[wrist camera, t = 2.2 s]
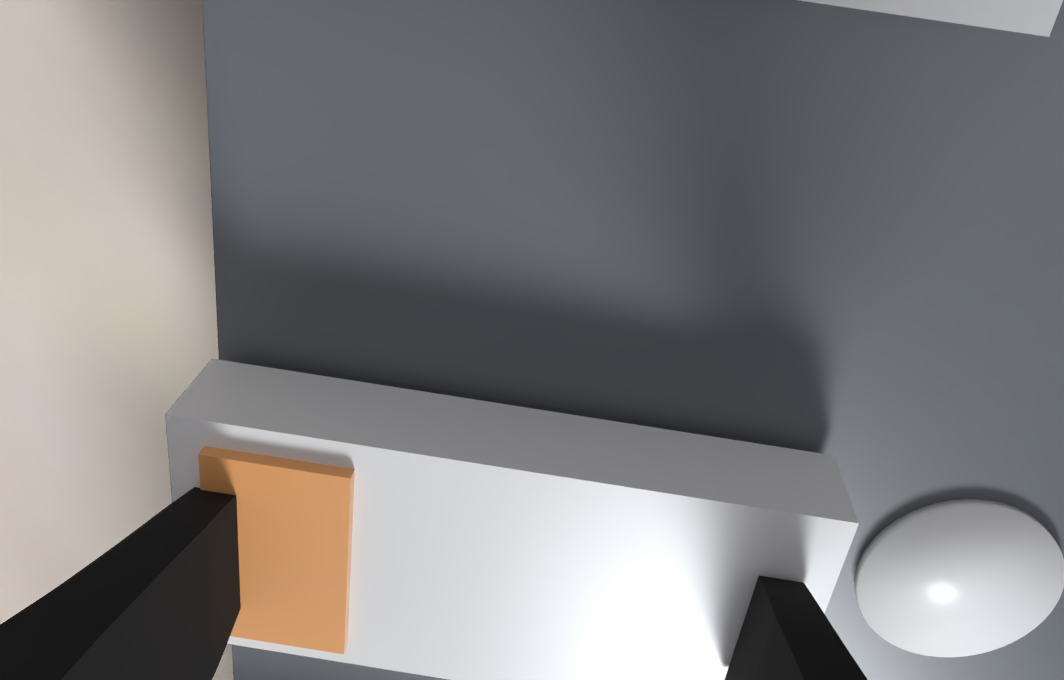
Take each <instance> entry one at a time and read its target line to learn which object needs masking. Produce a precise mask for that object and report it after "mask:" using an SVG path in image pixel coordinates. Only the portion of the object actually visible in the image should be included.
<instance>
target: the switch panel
mask: <svg viewBox="0 0 1064 680" xmlns="http://www.w3.org/2000/svg"><path fill="white" fill-rule="evenodd" d="M202 1H203V22H204V44H205V66H206V88H207V110H208V131H209V153H210V175H211V197H212V219H213V240H214V262H215V284H216V306H217V328H218V349H219V360H225V361H231V362H237V363H244V364H250V365H257V366H263V367H270V368H276V369H282V370H289V371H295V372H302V373H308V374H314V375H321V376H327V377H334V378H340V379H347V380H353V381H359V382H366V383H372V384H379V385H385V386H392V387H398V388H404V389H411V390H417V391H424V392H430V393H437V394H443V395H449V396H456V397H462V398H469V399H475V400H482V401H488V402H494V403H501V404H507V405H514V406H520V407H526V408H533V409H539V410H546V411H552V412H559V413H565V414H571V415H578V416H584V417H591V418H597V419H604V420H610V421H616V422H623V423H629V424H636V425H642V426H649V427H655V428H661V429H668V430H674V431H681V432H687V433H694V434H700V435H706V436H713V437H719V438H726V439H732V440H738V441H745V442H751V443H758V444H764V445H771V446H777V447H783V448H790V449H796V450H803V451H809V452H816V453H822V454H828V455H834V456H835V459H836V462H837V465H838V467H839V470H840V473H841V476H842V478H843V481H844V484H845V487H846V489H847V492H848V495H849V497H850V500H851V503H852V506H853V508H854V511H855V514H856V517H857V519H858V522H859V525H858V527H857V530H856V532H855V535H854V538H853V540H852V543H851V545H850V548H849V551H848V553H847V556H846V559H845V561H844V564H843V566H842V569H841V572H840V574H839V577H838V579H837V582H836V585H835V587H834V590H833V592H832V595H831V598H830V600H829V603H828V605H827V608H826V611H825V613H824V614H825V615H826V617H827V618H828V620H829V622H830V623H831V625H832V626H833V628H834V629H835V631H836V632H837V634H838V635H839V637H840V639H841V640H842V642H843V643H844V645H845V646H846V648H847V649H848V651H849V652H850V654H851V655H852V657H853V658H854V660H855V661H856V663H857V664H858V666H859V667H860V669H861V670H862V672H863V673H864V675H865V676H866V678H867V679H868V680H1064V0H1063V2H1062V5H1061V7H1060V10H1059V13H1058V15H1057V18H1056V20H1055V23H1054V26H1053V28H1052V31H1051V33H1050V36H1049V37H1046V36H1039V35H1032V34H1025V33H1018V32H1012V31H1005V30H998V29H991V28H984V27H977V26H971V25H964V24H957V23H950V22H943V21H936V20H929V19H923V18H916V17H909V16H902V15H895V14H888V13H881V12H875V11H868V10H861V9H854V8H847V7H840V6H834V5H827V4H820V3H813V2H806V1H799V0H202ZM232 655H233V676H234V680H448V679H442V678H436V677H430V676H424V675H418V674H411V673H405V672H399V671H393V670H387V669H381V668H374V667H368V666H362V665H356V664H350V663H343V662H337V661H331V660H325V659H319V658H313V657H306V656H300V655H294V654H288V653H282V652H275V651H269V650H263V649H257V648H251V647H245V646H238V645H232Z"/></svg>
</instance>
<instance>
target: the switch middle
mask: <svg viewBox="0 0 1064 680" xmlns="http://www.w3.org/2000/svg"><path fill="white" fill-rule="evenodd" d="M165 419H166V431H167V443H168V455H169V468H170V480H171V492H172V503H173V502H174V501H175V500H177V499H178V498H180V497H181V496H182V495H184V494H185V493H186V492H188V491H189V490H191V489H192V488H194V487H198V488H200V490H206V491H212V492H219V493H225V494H231V495H236V498H237V524H238V550H239V576H240V602H241V609H240V611H239V614H238V617H237V619H236V622H235V624H234V627H233V630H232V632H231V635H230V637H229V640H228V643H227V644H232V645H238V646H245V647H251V648H257V649H263V650H269V651H275V652H282V653H288V654H294V655H300V656H306V657H313V658H319V659H325V660H331V661H337V662H343V663H350V664H356V665H362V666H368V667H374V668H381V669H387V670H393V671H399V672H405V673H411V674H418V675H424V676H430V677H436V678H442V679H448V680H725V677H726V674H727V671H728V668H729V665H730V662H731V659H732V656H733V652H734V649H735V646H736V643H737V640H738V637H739V634H740V631H741V628H742V625H743V622H744V619H745V616H746V613H747V610H748V607H749V604H750V601H751V598H752V594H753V591H754V588H755V585H756V582H757V579H758V576H765V577H772V578H778V579H784V580H791V581H797V582H803V583H804V584H805V585H806V587H807V588H808V589H809V591H810V592H811V594H812V595H813V597H814V598H815V600H816V601H817V603H818V605H819V606H820V608H821V609H822V611H823V612H824V613H825V611H826V608H827V605H828V603H829V600H830V598H831V595H832V592H833V590H834V587H835V585H836V582H837V579H838V577H839V574H840V572H841V569H842V566H843V564H844V561H845V559H846V556H847V553H848V551H849V548H850V545H851V543H852V540H853V538H854V535H855V532H856V530H857V527H858V525H859V522H858V519H857V517H856V514H855V511H854V508H853V506H852V503H851V500H850V497H849V495H848V492H847V489H846V487H845V484H844V481H843V478H842V476H841V473H840V470H839V467H838V465H837V462H836V459H835V456H834V455H828V454H822V453H816V452H809V451H803V450H796V449H790V448H783V447H777V446H771V445H764V444H758V443H751V442H745V441H738V440H732V439H726V438H719V437H713V436H706V435H700V434H694V433H687V432H681V431H674V430H668V429H661V428H655V427H649V426H642V425H636V424H629V423H623V422H616V421H610V420H604V419H597V418H591V417H584V416H578V415H571V414H565V413H559V412H552V411H546V410H539V409H533V408H526V407H520V406H514V405H507V404H501V403H494V402H488V401H482V400H475V399H469V398H462V397H456V396H449V395H443V394H437V393H430V392H424V391H417V390H411V389H404V388H398V387H392V386H385V385H379V384H372V383H366V382H359V381H353V380H347V379H340V378H334V377H327V376H321V375H314V374H308V373H302V372H295V371H289V370H282V369H276V368H270V367H263V366H257V365H250V364H244V363H237V362H231V361H225V360H218V359H211V361H210V362H209V363H208V364H207V365H206V366H205V368H204V369H203V370H202V371H201V372H200V374H199V375H198V376H197V377H196V378H195V380H194V381H193V382H192V383H191V384H190V386H189V387H188V388H187V389H186V390H185V391H184V393H183V394H182V395H181V396H180V397H179V399H178V400H177V401H176V402H175V403H174V405H173V406H172V407H171V408H170V409H169V411H168V412H167V413H166V414H165Z"/></svg>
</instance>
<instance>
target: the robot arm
mask: <svg viewBox="0 0 1064 680" xmlns="http://www.w3.org/2000/svg"><path fill="white" fill-rule="evenodd" d="M240 609H241V602H240V576H239V550H238V524H237V498H236V495H231V494H225V493H219V492H212V491H206V490H200V488H198V487H194V488H192V489H191V490H189V491H188V492H186V493H185V494H184V495H182V496H181V497H180V498H178V499H177V500H175V501H174V502H173V503H171V504H170V505H169V506H167V507H166V508H165V509H163V510H162V511H161V512H159V513H158V514H157V515H155V516H154V517H153V518H151V519H150V520H149V521H147V522H146V523H145V524H143V525H142V526H141V527H139V528H138V529H137V530H135V531H134V532H133V533H131V534H130V535H129V536H127V537H126V538H125V539H123V540H122V541H121V542H119V543H118V544H117V545H115V546H114V547H113V548H111V549H110V550H109V551H107V552H106V553H104V554H103V555H102V556H100V557H99V558H97V559H96V560H95V561H93V562H92V563H90V564H89V565H88V566H86V567H85V568H83V569H82V570H81V571H79V572H78V573H76V574H75V575H74V576H72V577H71V578H69V579H68V580H67V581H65V582H64V583H62V584H61V585H60V586H58V587H57V588H55V589H54V590H52V591H51V592H49V593H48V594H46V595H45V596H43V597H42V598H40V599H39V600H37V601H36V602H34V603H33V604H31V605H30V606H28V607H27V608H25V609H24V610H22V611H20V612H19V613H17V614H16V615H14V616H13V617H11V618H10V619H8V620H7V621H5V622H4V623H2V624H1V625H0V680H212V678H213V676H214V674H215V672H216V669H217V667H218V665H219V662H220V660H221V657H222V655H223V652H224V650H225V647H226V645H227V643H228V640H229V637H230V635H231V632H232V630H233V627H234V624H235V622H236V619H237V617H238V614H239V611H240ZM725 680H868V679H867V678H866V676H865V675H864V673H863V672H862V670H861V669H860V667H859V666H858V664H857V663H856V661H855V660H854V658H853V657H852V655H851V654H850V652H849V651H848V649H847V648H846V646H845V645H844V643H843V642H842V640H841V639H840V637H839V635H838V634H837V632H836V631H835V629H834V628H833V626H832V625H831V623H830V622H829V620H828V618H827V617H826V615H825V614H824V612H823V611H822V609H821V608H820V606H819V605H818V603H817V601H816V600H815V598H814V597H813V595H812V594H811V592H810V591H809V589H808V588H807V587H806V585H805V584H804V583H803V582H797V581H791V580H784V579H778V578H772V577H765V576H758V579H757V582H756V585H755V588H754V591H753V594H752V598H751V601H750V604H749V607H748V610H747V613H746V616H745V619H744V622H743V625H742V628H741V631H740V634H739V637H738V640H737V643H736V646H735V649H734V652H733V656H732V659H731V662H730V665H729V668H728V671H727V674H726V677H725Z"/></svg>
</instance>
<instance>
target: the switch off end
mask: <svg viewBox="0 0 1064 680" xmlns="http://www.w3.org/2000/svg"><path fill="white" fill-rule="evenodd" d="M799 1H806V2H813V3H820V4H827V5H834V6H840V7H847V8H854V9H861V10H868V11H875V12H881V13H888V14H895V15H902V16H909V17H916V18H923V19H929V20H936V21H943V22H950V23H957V24H964V25H971V26H977V27H984V28H991V29H998V30H1005V31H1012V32H1018V33H1025V34H1032V35H1039V36H1046V37H1049V36H1050V33H1051V31H1052V28H1053V26H1054V23H1055V20H1056V18H1057V15H1058V13H1059V10H1060V7H1061V5H1062V2H1063V0H799Z"/></svg>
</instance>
